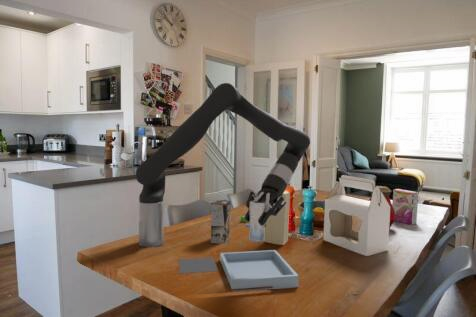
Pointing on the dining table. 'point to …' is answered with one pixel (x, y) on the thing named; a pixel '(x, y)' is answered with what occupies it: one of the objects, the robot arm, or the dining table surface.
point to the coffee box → (220, 221)
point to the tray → (258, 270)
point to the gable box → (370, 212)
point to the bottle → (386, 193)
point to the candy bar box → (405, 206)
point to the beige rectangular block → (279, 224)
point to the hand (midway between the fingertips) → (253, 222)
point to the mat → (197, 265)
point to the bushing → (256, 221)
